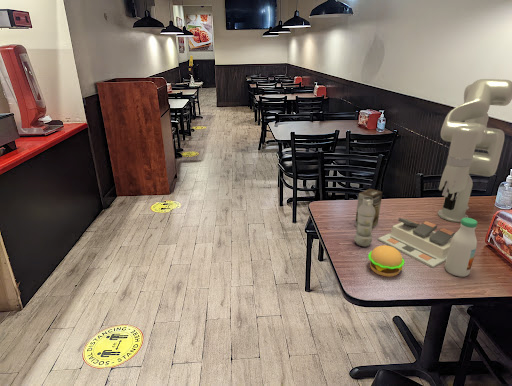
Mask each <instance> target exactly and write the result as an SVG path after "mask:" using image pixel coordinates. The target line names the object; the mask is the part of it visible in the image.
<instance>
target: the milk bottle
mask: <svg viewBox="0 0 512 386" xmlns="http://www.w3.org/2000/svg"><path fill="white" fill-rule="evenodd" d="M477 227H478V220H476V219H474V218H471V217H468V218H462V220H461V222H460V227H459V229H458V230H456V232H454V233H455V234H454V236H453V237H452V238H451V239H452V240H451V243H450V247H449V251H448V255H447V259H446V261H445V262H444V263H445V264H444V269H445V270H446V272H447V273H449V274H450V275H452V276H456V277H459V278H460V277H463V278H465V277H467V276H469V275H470V272H471V270H472V267H473V262H474V258H475V255H476V251H477V246H478V240H477V236H476V231H475V230H476V229H477Z"/></svg>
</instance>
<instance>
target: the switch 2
mask: <svg viewBox="0 0 512 386" xmlns="http://www.w3.org/2000/svg"><path fill="white" fill-rule="evenodd" d="M435 232H436V233H435V234H433V235H432V236H431V237H430V238H429V240H430V241H432V242H434V243H437V244H439V245H441V246H442V245H444V244H445V243H446V242H447V241H448V240H450V239H452V237H453V236H454V234H455V233H456V232H454V231H453V230H449V229H448V228H445V227H441V228H439V229H438V230H437V231H435Z"/></svg>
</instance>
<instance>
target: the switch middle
mask: <svg viewBox="0 0 512 386" xmlns="http://www.w3.org/2000/svg"><path fill="white" fill-rule="evenodd" d="M419 224H420V225H419V226H418V227H417V228H415V229H414V230H413V233H414V234H417V235H419V236H421V237H423V238H425V237H426V236H428V235H429V234H430V233H431V232H433V231H434V232H435V230H436V229H438V225H437V224H436V223H432V222H430V221H427V220H424V221H423V222H422V223H419Z"/></svg>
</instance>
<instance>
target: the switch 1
mask: <svg viewBox="0 0 512 386" xmlns="http://www.w3.org/2000/svg"><path fill="white" fill-rule="evenodd" d="M397 221H398V222H399V223H401V222H402V223H405V224H407V225H410V226H416V227H418V226H419V225H420V224H421V223H419V222H418V221H417V222H416V221H414V220H411V219H408V218H401V217H399V218H398V220H397Z"/></svg>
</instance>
